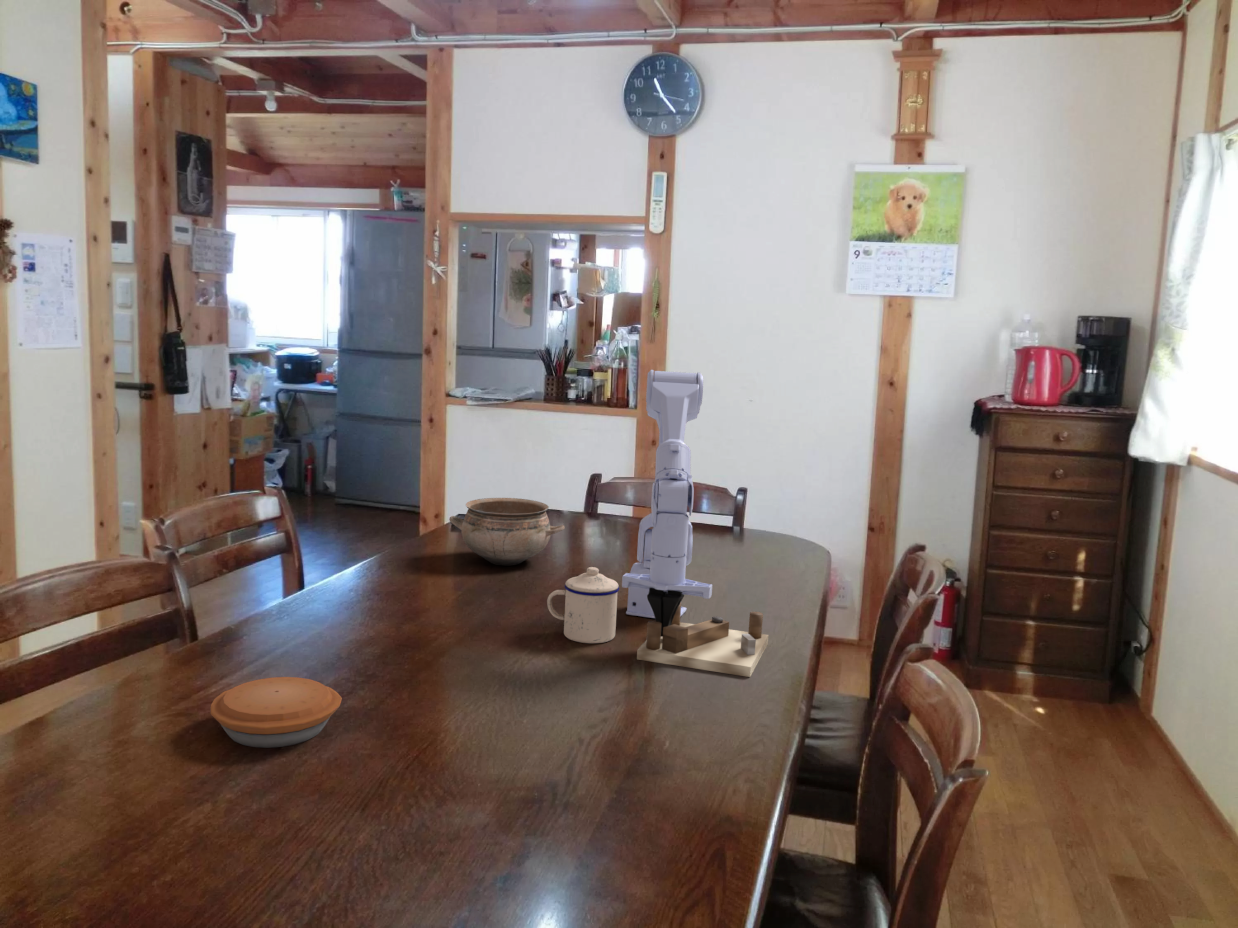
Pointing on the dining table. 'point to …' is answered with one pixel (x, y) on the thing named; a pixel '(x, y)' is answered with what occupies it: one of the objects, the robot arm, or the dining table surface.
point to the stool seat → (710, 648)
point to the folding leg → (693, 634)
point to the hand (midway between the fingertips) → (663, 634)
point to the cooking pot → (506, 529)
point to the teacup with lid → (588, 607)
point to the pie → (275, 711)
